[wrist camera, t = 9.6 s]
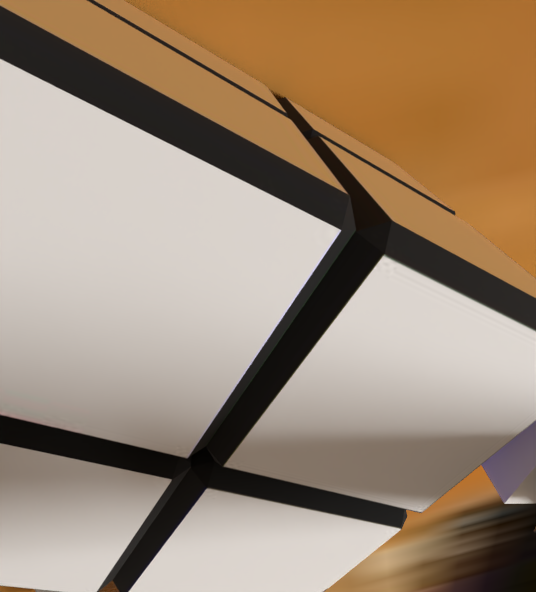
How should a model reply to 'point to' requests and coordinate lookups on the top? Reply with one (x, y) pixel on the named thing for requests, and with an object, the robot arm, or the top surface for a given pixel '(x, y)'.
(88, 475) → the puzzle cube
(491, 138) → the top surface
